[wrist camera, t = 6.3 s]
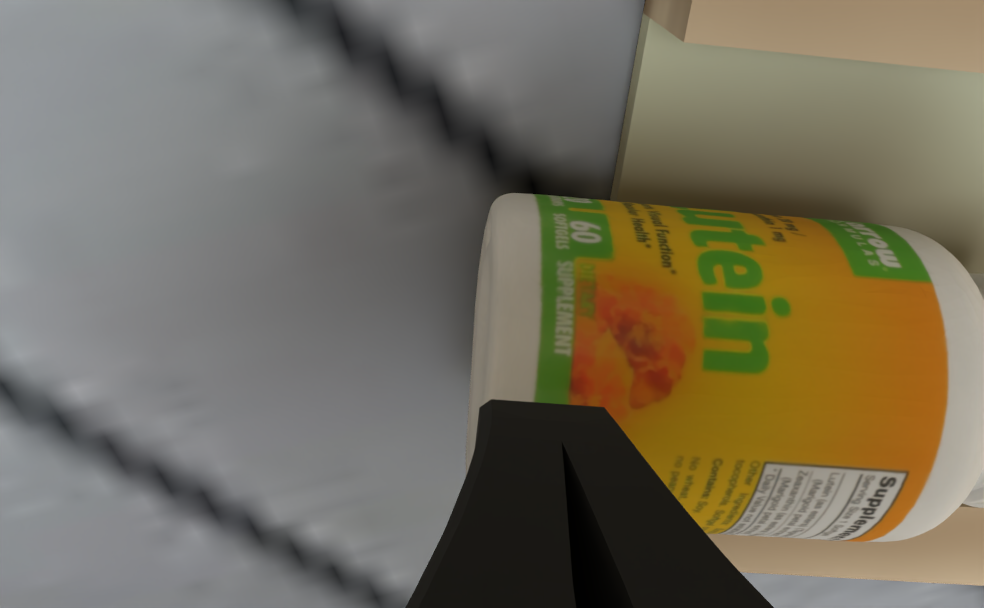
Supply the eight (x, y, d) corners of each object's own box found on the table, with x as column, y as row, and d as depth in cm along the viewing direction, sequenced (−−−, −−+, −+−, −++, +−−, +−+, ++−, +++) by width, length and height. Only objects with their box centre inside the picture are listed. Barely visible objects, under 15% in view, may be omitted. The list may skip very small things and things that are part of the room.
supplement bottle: (495, 120, 13) (1064, 171, 14) (468, 323, 17) (907, 355, 18) (490, 404, 10) (1246, 454, 10) (459, 573, 14) (1000, 600, 15)
